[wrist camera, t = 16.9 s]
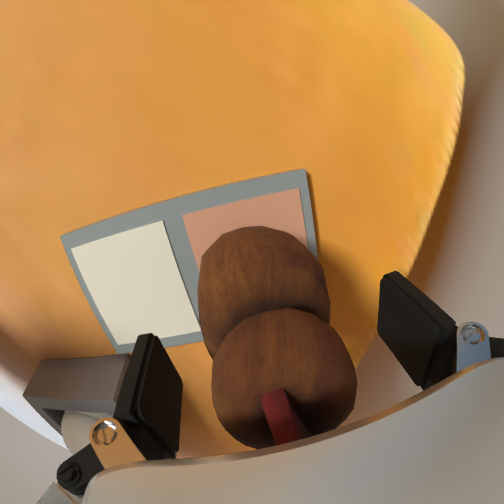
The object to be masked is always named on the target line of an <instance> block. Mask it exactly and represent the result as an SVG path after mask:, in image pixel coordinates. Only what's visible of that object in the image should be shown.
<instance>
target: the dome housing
mask: <svg viewBox="0 0 504 504" xmlns="http://www.w3.org/2000/svg"><path fill="white" fill-rule="evenodd" d="M129 362H130V356H129V355H128V353H126V354H118V355H109V356H100V357H90V358H78V359H65V360H48V361H41V363H40V364H39V366H38V368H37V369H36V371H35V373H34V375H33V377H32V378H31V380H30V382H29V384H28V386H27V388H26V389H25V391H24V393H23V395H22V396H23V397H24V398H25V399H26V400H27V401H28V403H29V404H30V405H31V406H32V407H33V408H34V409H35V410H36V411H37V412H38V413H39V414H40V415H41V416H42V417H43V418H44V419H45V420H46V421H47V422H48V423H49V424H50V425H51V426H52V427H53V428H54V429H55V430H56V431H57V432H58V433H59V434H60V435H62V432H61V422H62V418H63V415H64V412H65V410H67V411H81V412H108V414H109V415H110V416H111V417H112V418H113V415H114V411H115V407H116V403H117V400H118V396H119V393H120V389H121V386H122V382H123V379H124V375H125V372H126V370H127V368H128V365H129ZM175 459H176V452H175Z"/></svg>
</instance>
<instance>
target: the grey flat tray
mask: <svg viewBox="0 0 504 504" xmlns="http://www.w3.org/2000/svg"><path fill="white" fill-rule="evenodd" d="M250 226H265V227H268V228H272V229H276V230H280V231H284V232H287V233H289V234H291V235H293V236H294V237H295V238H296V239H298V240H299V241H300V242H301V243H302V244H303V245H304V246H305V247H306V248H308V249H309V250H310V251H311V252H312V253H313V254H314V255H315V257H316V258H317V259H318V256H317V247H316V239H315V231H314V223H313V216H312V209H311V202H310V195H309V189H308V183H307V176H306V170H305V169H298V170H292V171H287V172H282V173H277V174H272V175H267V176H262V177H257V178H253V179H248V180H244V181H239V182H235V183H230V184H226V185H222V186H218V187H214V188H210V189H206V190H202V191H198V192H194V193H190V194H187V195H183V196H179V197H176V198H172V199H169V200H165V201H162V202H158V203H155V204H151V205H148V206H145V207H141V208H138V209H135V210H132V211H129V212H126V213H122V214H119V215H116V216H113V217H110V218H107V219H104V220H101V221H99V222H96V223H93V224H90V225H87V226H84V227H82V228H79V229H76V230H73V231H71V232H68V233H66V234H64V235H62V236H61V237H60V238H61V241H62V243H63V246H64V248H65V251H66V254H67V256H68V258H69V261H70V263H71V266H72V268H73V270H74V273H75V275H76V277H77V279H78V281H79V284H80V286H81V288H82V290H83V292H84V294H85V296H86V298H87V300H88V302H89V304H90V306H91V308H92V310H93V312H94V314H95V316H96V318H97V319H98V321H99V323H100V325H101V327H102V328H103V330H104V332H105V334H106V335H107V337H108V339H109V340H110V342H111V344H112V345H113V347H114V349H115V350H116V352H117V354H125V353H132V352H133V349H134V346H135V343H136V340H137V337H138V335H141V334H147V333H153V334H154V336H158V337H159V339H160V341H161V343H162V345H163V347H164V348H166V347H172V346H178V345H184V344H189V343H195V342H200V341H204V339H203V336H202V332H201V328H200V324H199V311H198V292H197V289H198V281H199V273H200V265H201V257H202V255H203V254H204V253H205V252H206V250H207V249H208V248H209V247H210V246H211V245H212V244H213V243H214V242H215V241H216V240H217V239H218V238H219V237H220V236H221V235H222V234H224V233H227V232H230V231H233V230H236V229H239V228H242V227H250Z"/></svg>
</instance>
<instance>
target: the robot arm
mask: <svg viewBox="0 0 504 504" xmlns="http://www.w3.org/2000/svg"><path fill="white" fill-rule="evenodd" d="M455 324H456V322H455V321H454V320H453V319H452V318H451V317H450V316H449V315H448V314H447V313H445V312H444V311H443V310H442V309H441V308H440V307H439V306H438V305H436V304H435V303H434V302H433V301H432V300H431V299H430V298H428V297H427V296H426V295H425V294H424V293H422V292H421V291H420V290H419V289H418V288H417V287H416V286H414V285H413V284H412V283H411V282H410V281H408V280H407V279H406V278H405V277H404V276H402V275H401V274H400V273H399V272H397V271H394V272H391V273H388V274H385V275H384V276H383V279H381V281H380V297H379V312H378V325H377V330H378V334H379V335H380V337H381V338H382V339H383V341H384V342H385V343H386V345H387V346H388V347H389V349H390V350H391V351H392V352H393V354H394V355H395V357H396V358H397V360H398V361H399V362H400V364H401V365H402V366H403V368H404V369H405V370H406V372H407V373H408V375H409V376H410V377H411V379H412V380H413V382H414V383H415V384H416V385H417V386H421V388H422V389H423V391H422V392H420V393H419V394H417V395H415V396H413V397H411V398H409V399H407V400H405V401H403V402H401V403H399V404H397V405H395V406H392V407H390V408H388V409H386V410H383V411H381V412H379V413H376V414H374V415H372V416H370V417H367V418H364V419H362V420H359V421H357V422H354V423H351V424H349V425H346V426H343V427H340V428H337V429H334V430H331V431H328V432H325V433H322V434H319V435H315V436H312V437H308V438H305V439H301V440H297V441H293V442H289V443H285V444H281V445H277V446H272V447H267V448H262V449H257V450H252V451H246V452H240V453H233V454H226V455H217V456H208V457H197V458H184V459H175V452H178V450H179V435H180V417H181V402H182V389H183V384H182V380H181V377H180V376H179V374H178V372H177V370H176V369H175V367H174V365H173V363H172V362H171V360H170V358H169V356H168V354H167V352H166V350H165V349H164V347H163V345H162V343H161V341H160V339H159V337H158V336H154V334H153V333H147V334H141V335H138V337H137V340H136V343H135V346H134V349H133V352H132V355H131V358H130V362H129V365H128V368H127V370H126V372H125V375H124V379H123V382H122V386H121V389H120V393H119V396H118V400H117V403H116V407H115V411H114V415H113V418H102V419H100V420H98V421H97V422H96V423H95V424H94V425H93V426H92V427H91V429H90V432H89V440H90V444H88V445H87V446H85V447H84V448H83V449H81V450H80V451H79V452H77V453H76V454H74V455H73V456H72V457H70V458H69V459H67V460H66V461H65V462H63V463H62V464H61V465H60V466H59V468H58V470H57V480H58V482H57V483H55V482H53V483H52V484H51V486H50V487H49V488H48V489H47V491H46V492H45V493H44V494H43V496H42V497H41V498H40V500H39V501H38V502H37V503H36V504H504V339H502V338H493V337H489V336H488V332H487V330H486V329H485V327H484V326H482V325H481V324H479V323H477V322H465V323H463V324H461V325H460V326H459V327H457V326H456V325H455ZM433 385H434V386H433ZM431 386H432V387H431Z"/></svg>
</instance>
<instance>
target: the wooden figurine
mask: <svg viewBox="0 0 504 504" xmlns="http://www.w3.org/2000/svg"><path fill="white" fill-rule="evenodd" d="M197 292H198V311H199V324H200V328H201V332H202V336H203V339H204V343H205V345H206V347H207V350H208V352H209V354H210V356H211V357H212V359H213V368H212V398H213V405H214V408H215V410H216V413H217V416H218V419H219V420H220V422H221V424H222V425H223V427H224V428H225V430H226V431H227V432H228V433H229V434H231V435H232V436H233V437H234V438H235V439H236V440H237V441H239V442H241V443H242V444H244V445H246V446H249V447H252V448H255V449H262V448H267V447H272V446H277V445H281V444H285V443H289V442H293V441H297V440H301V439H305V438H308V437H312V436H315V435H319V434H322V433H325V432H328V431H331V430H334V429H336V428H337V427H338V426H339V425H340V424H341V423H342V422H343V421H345V420H346V418H347V417H348V416H349V414H350V413H351V411H352V410H353V408H354V402H355V397H356V390H357V379H356V374H355V369H354V365H353V363H352V360H351V357H350V355H349V353H348V351H347V349H346V347H345V345H344V343H343V341H342V339H341V338H340V336H339V335H338V333H337V332H336V331H335V329H334V328H332V327H331V326H330V325H329V323H330V300H329V295H328V291H327V286H326V281H325V276H324V271H323V268H322V266H321V264H320V263H319V261H318V259H317V258H316V257H315V255H314V254H313V253H312V252H311V251H310V250H309V249H308V248H306V247H305V246H304V245H303V244H302V243H301V242H300V241H299V240H298V239H296V238H295V237H294V236H293V235H291V234H289V233H287V232H284V231H280V230H276V229H272V228H268V227H265V226H250V227H242V228H239V229H236V230H233V231H230V232H227V233H224V234H222V235H221V236H220V237H219V238H218V239H217V240H216V241H215V242H214V243H213V244H212V245H211V246H210V247H209V248H208V249H207V250H206V252H205V253H204V254H203V255H202V257H201V265H200V273H199V281H198V289H197Z"/></svg>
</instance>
